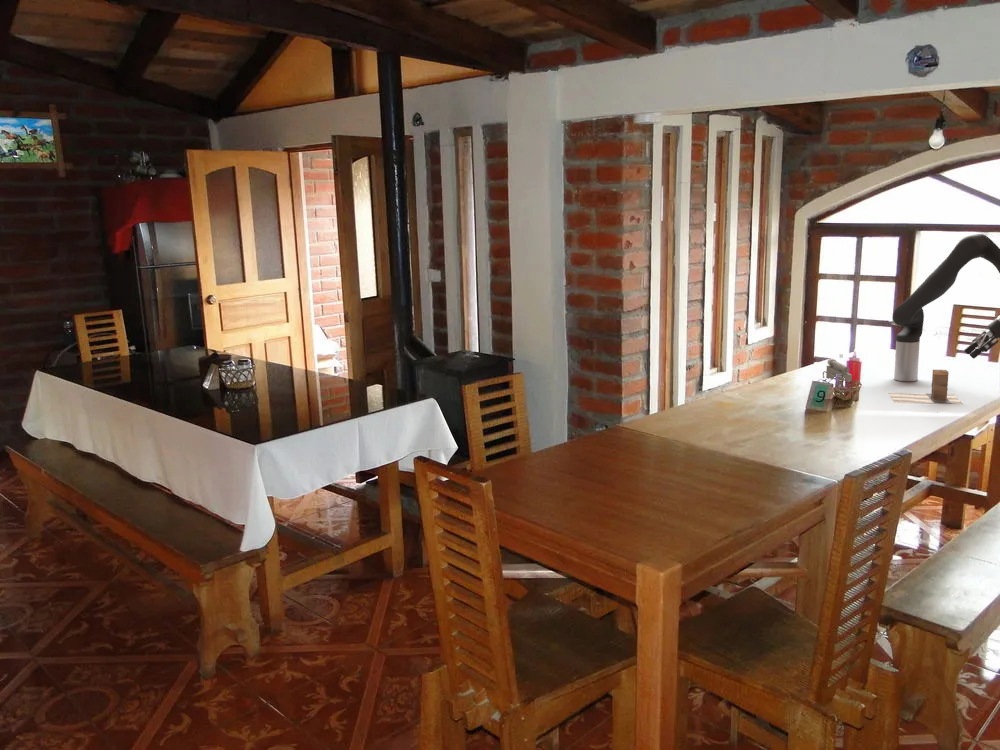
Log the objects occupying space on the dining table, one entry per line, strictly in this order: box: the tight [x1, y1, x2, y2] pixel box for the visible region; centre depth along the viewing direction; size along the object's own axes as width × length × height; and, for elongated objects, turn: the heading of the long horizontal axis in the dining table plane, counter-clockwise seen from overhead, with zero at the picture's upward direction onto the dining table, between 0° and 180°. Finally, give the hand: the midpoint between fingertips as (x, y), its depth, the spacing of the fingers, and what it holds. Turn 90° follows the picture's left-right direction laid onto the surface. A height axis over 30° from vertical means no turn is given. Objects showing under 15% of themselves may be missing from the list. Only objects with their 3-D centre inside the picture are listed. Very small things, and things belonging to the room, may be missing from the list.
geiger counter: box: [822, 358, 853, 382], centre depth 342 cm, size 14×6×25 cm
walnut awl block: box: [930, 369, 949, 400], centre depth 322 cm, size 5×5×11 cm
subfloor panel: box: [888, 392, 964, 405], centre depth 324 cm, size 16×24×2 cm, turn 73°
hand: (968, 354), depth 316 cm, fingers open, 8 cm apart
